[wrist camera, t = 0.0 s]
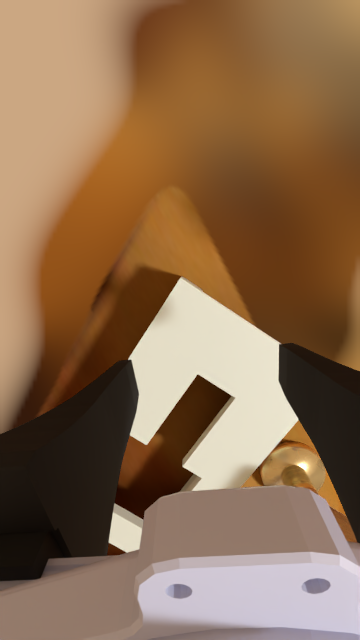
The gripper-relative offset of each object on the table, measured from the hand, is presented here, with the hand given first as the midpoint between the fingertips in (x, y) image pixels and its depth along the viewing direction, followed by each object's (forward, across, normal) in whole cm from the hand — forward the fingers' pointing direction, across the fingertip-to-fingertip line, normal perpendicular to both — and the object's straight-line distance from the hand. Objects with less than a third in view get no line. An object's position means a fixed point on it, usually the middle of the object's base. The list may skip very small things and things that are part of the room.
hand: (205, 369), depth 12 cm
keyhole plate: (+9, +3, +11) cm, 14 cm away
